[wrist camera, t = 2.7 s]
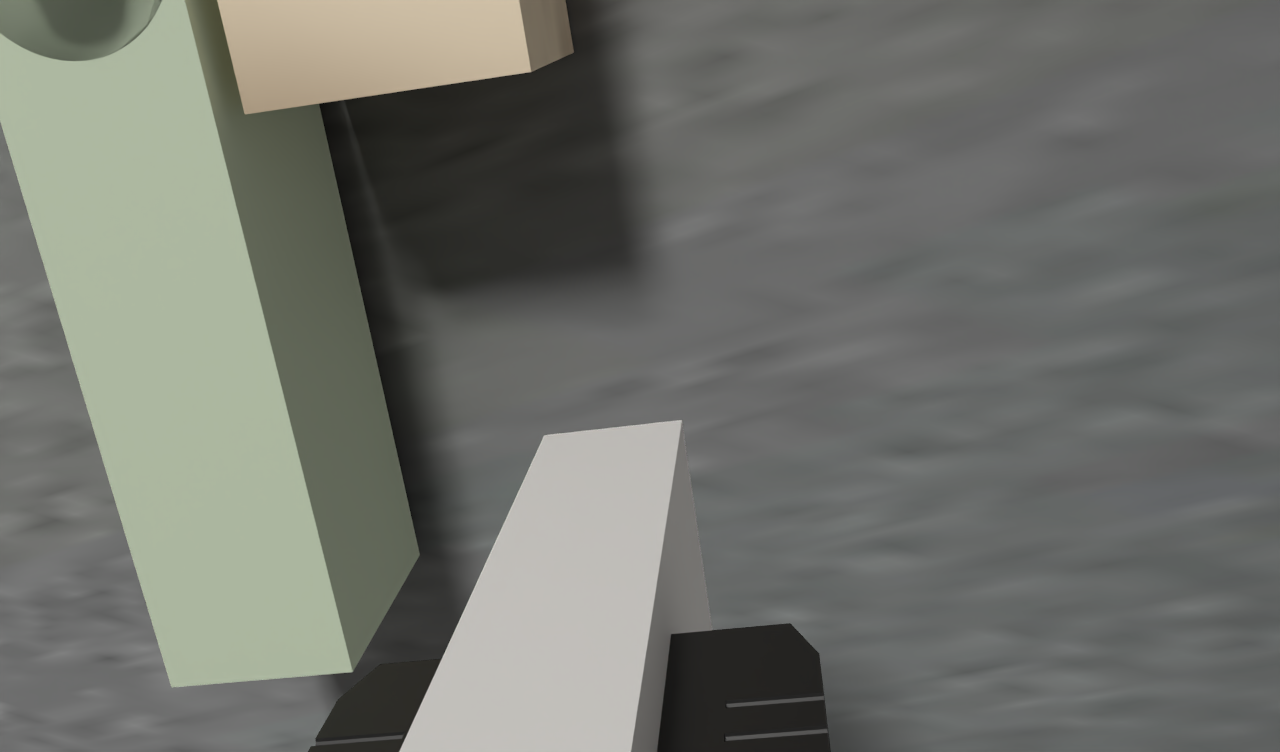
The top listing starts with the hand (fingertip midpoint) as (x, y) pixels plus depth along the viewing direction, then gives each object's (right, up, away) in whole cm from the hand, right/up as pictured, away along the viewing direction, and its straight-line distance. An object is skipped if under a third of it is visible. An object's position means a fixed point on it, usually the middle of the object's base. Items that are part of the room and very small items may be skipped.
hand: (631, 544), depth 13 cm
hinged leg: (-6, +4, +8) cm, 11 cm away
